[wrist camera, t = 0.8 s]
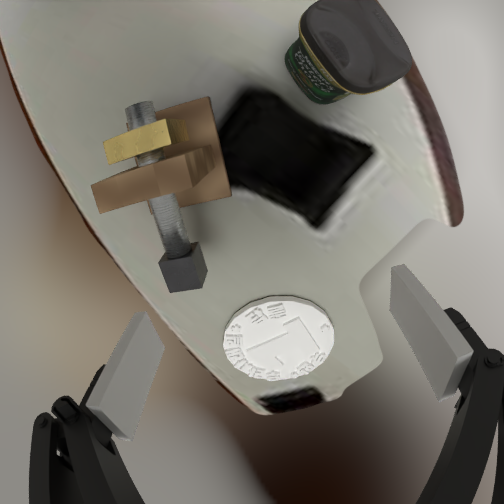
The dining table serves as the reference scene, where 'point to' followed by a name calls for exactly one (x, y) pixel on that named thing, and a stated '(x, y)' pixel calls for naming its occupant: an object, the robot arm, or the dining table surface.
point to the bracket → (174, 166)
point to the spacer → (145, 139)
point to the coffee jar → (346, 50)
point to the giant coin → (278, 338)
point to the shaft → (169, 219)
